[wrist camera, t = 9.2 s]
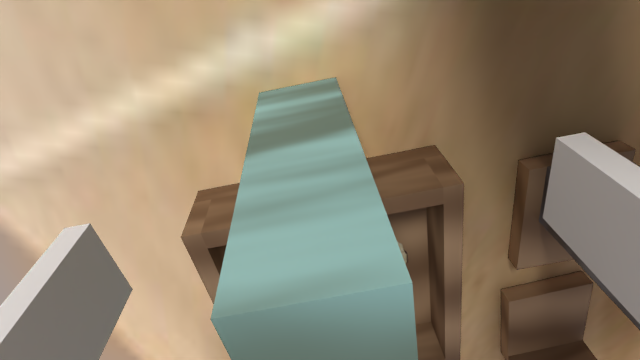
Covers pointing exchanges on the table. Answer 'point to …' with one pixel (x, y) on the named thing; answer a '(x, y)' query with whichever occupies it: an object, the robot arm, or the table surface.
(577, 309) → the strip
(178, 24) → the table surface
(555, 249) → the grey tall block
